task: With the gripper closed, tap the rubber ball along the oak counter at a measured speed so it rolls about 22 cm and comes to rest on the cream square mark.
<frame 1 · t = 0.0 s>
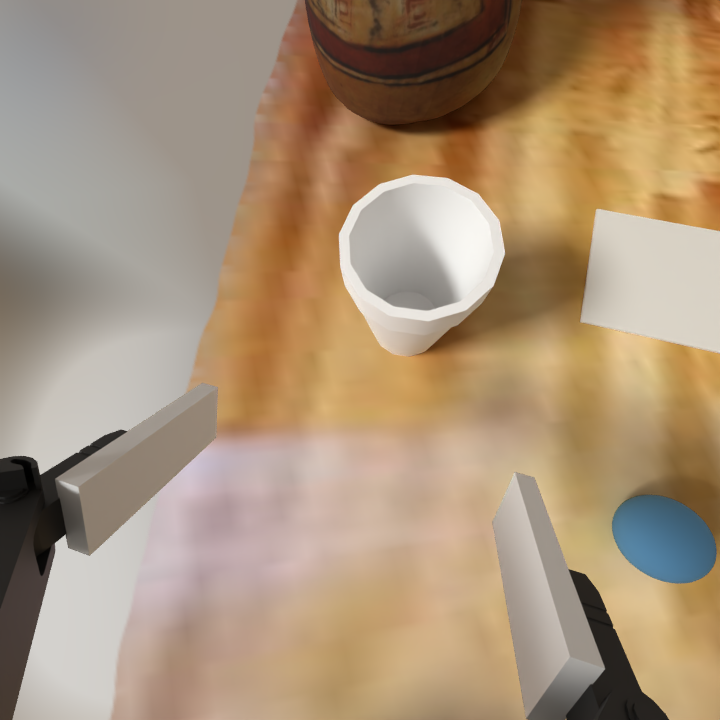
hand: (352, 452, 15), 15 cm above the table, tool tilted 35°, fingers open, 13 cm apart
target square: (656, 277, 32), on the table
ceramic pitcher: (407, 79, 40), on the table
foam cup: (405, 324, 33), on the table
ball: (660, 536, 25), on the table
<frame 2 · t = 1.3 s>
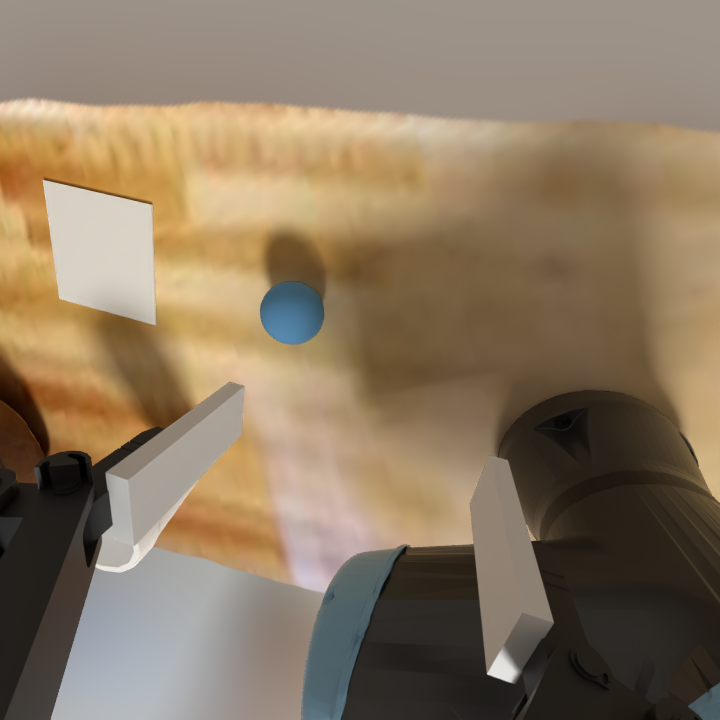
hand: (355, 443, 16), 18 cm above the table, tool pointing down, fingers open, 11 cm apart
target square: (103, 255, 36), on the table
ceramic pitcher: (5, 427, 50), on the table
foam cup: (190, 447, 43), on the table
ball: (292, 313, 31), on the table
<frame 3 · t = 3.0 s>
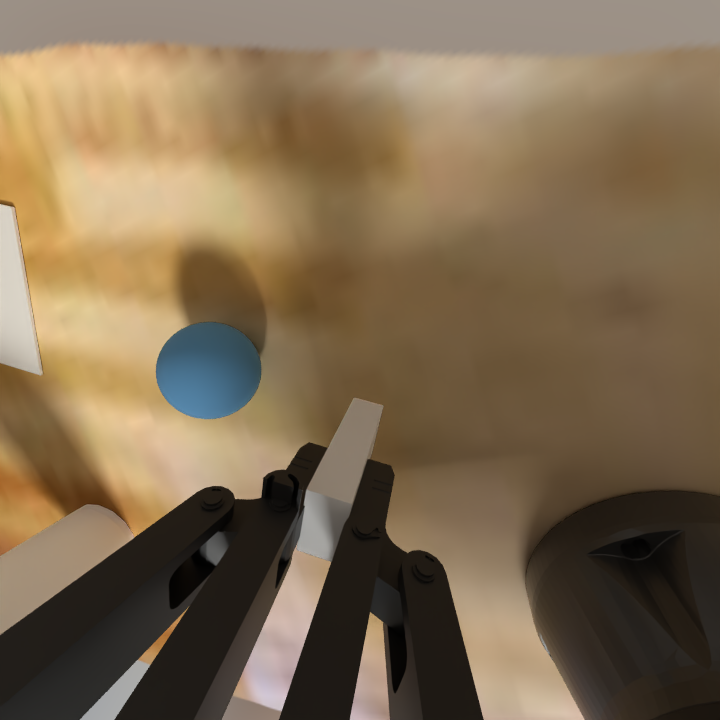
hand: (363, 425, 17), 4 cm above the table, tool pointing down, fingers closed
foam cup: (107, 530, 32), on the table
ball: (211, 370, 20), on the table
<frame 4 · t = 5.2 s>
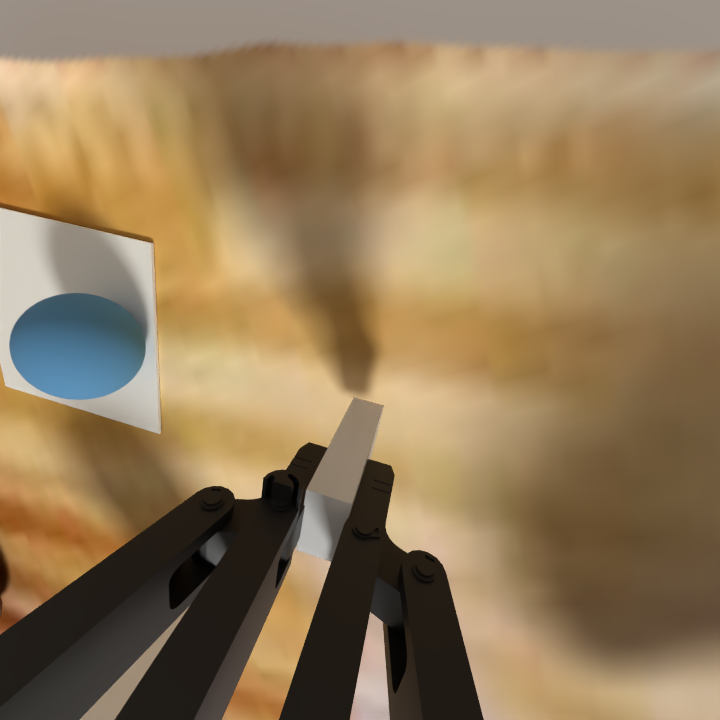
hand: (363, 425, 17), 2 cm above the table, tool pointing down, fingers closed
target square: (70, 324, 22), on the table
foam cup: (213, 597, 28), on the table
ball: (83, 346, 18), on the table
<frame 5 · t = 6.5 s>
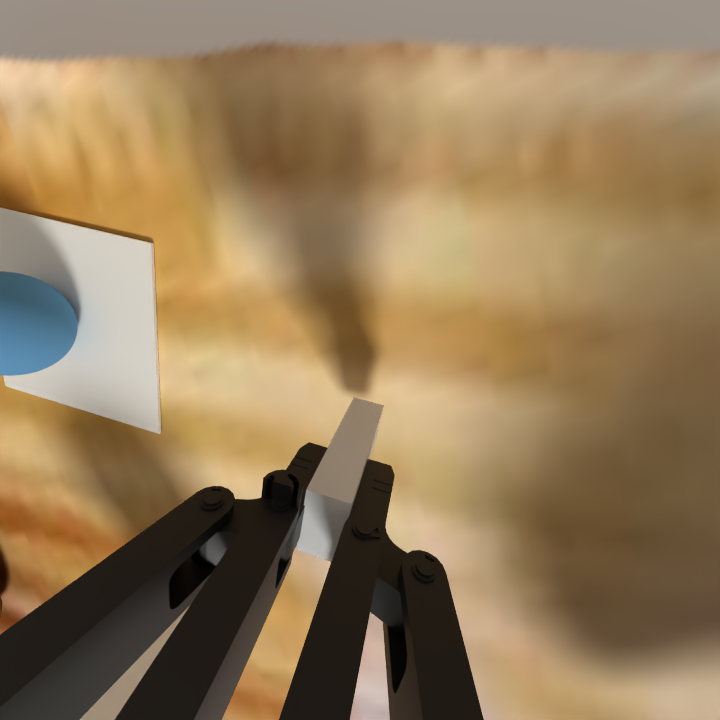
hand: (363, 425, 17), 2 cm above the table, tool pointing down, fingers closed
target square: (70, 324, 22), on the table
foam cup: (213, 597, 28), on the table
ball: (11, 324, 19), on the table
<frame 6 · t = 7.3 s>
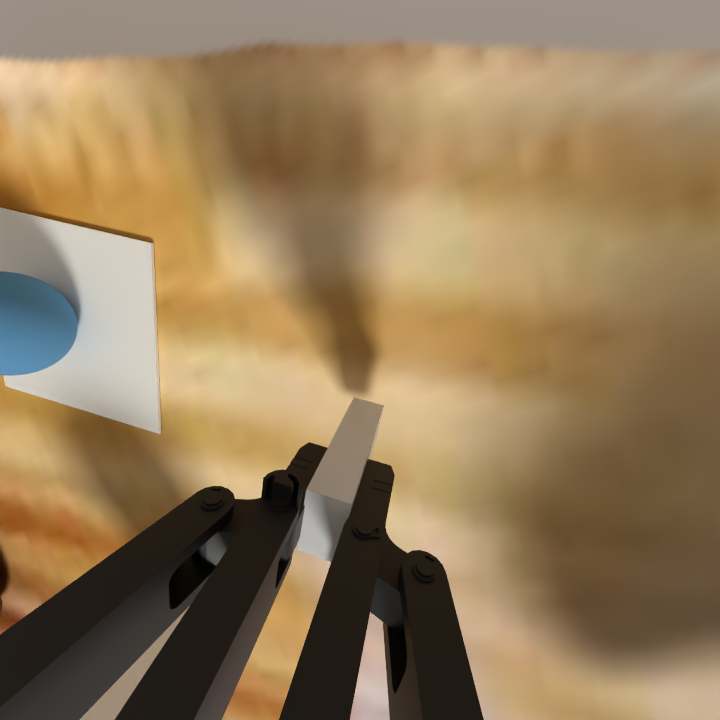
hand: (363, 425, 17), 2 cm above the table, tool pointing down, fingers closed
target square: (70, 324, 22), on the table
foam cup: (213, 597, 28), on the table
ball: (11, 324, 19), on the table
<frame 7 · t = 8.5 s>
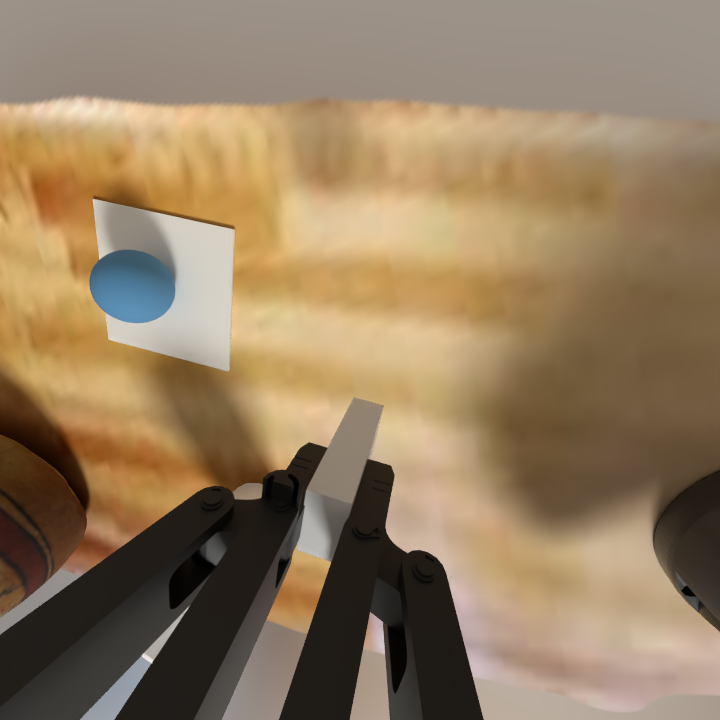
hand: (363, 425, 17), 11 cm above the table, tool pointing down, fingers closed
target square: (166, 289, 30), on the table
ceramic pitcher: (36, 479, 43), on the table
foam cup: (261, 505, 37), on the table
ball: (134, 287, 27), on the table
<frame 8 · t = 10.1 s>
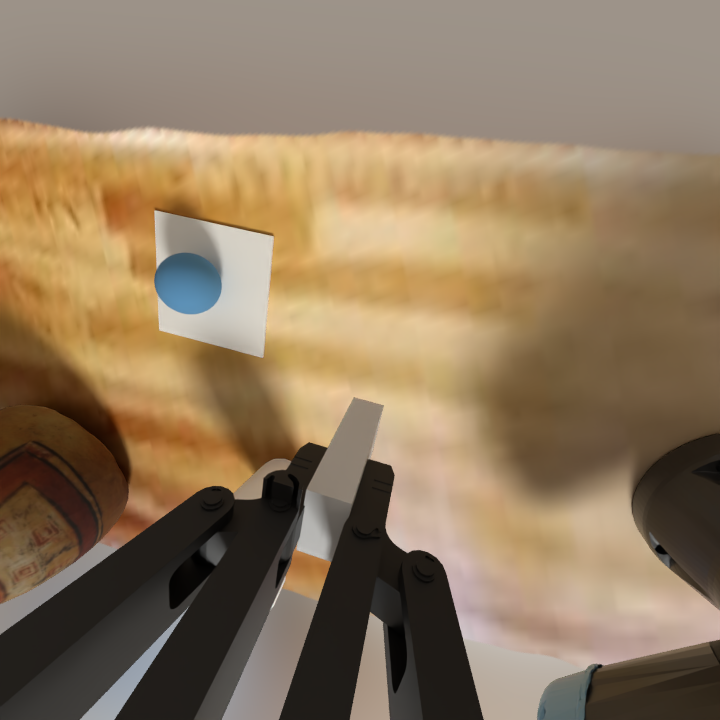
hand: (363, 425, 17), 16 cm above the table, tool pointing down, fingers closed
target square: (212, 287, 35), on the table
ceramic pitcher: (83, 457, 48), on the table
foam cup: (285, 479, 42), on the table
ball: (189, 284, 32), on the table
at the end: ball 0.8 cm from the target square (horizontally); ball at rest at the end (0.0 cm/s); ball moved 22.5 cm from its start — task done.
